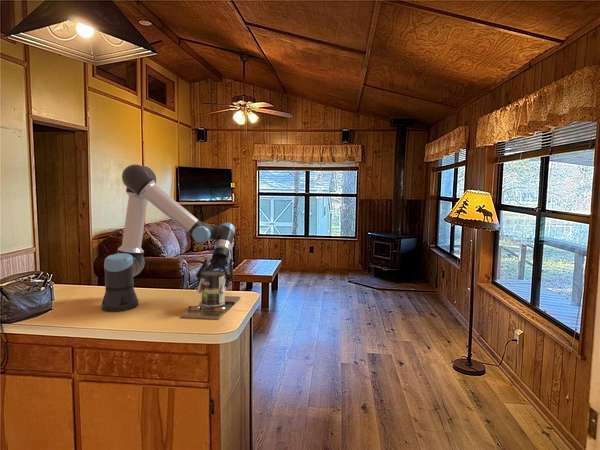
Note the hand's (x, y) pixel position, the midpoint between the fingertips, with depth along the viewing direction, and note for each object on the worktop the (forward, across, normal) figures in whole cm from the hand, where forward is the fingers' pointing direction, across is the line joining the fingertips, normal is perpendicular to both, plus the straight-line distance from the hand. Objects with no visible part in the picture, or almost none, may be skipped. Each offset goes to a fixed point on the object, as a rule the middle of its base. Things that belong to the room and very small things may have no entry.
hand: (210, 292), depth 175 cm
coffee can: (+2, 0, -6) cm, 7 cm away
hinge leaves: (+3, 0, -8) cm, 8 cm away
